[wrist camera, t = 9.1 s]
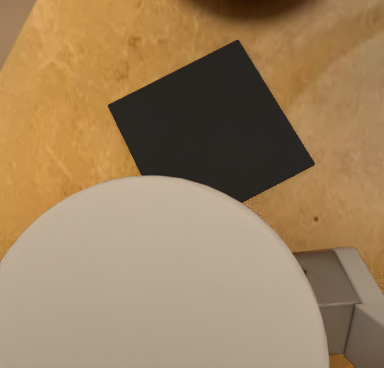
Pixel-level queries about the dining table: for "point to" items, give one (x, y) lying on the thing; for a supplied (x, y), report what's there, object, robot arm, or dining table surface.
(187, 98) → the mat
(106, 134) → the dining table surface
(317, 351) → the pill bottle
